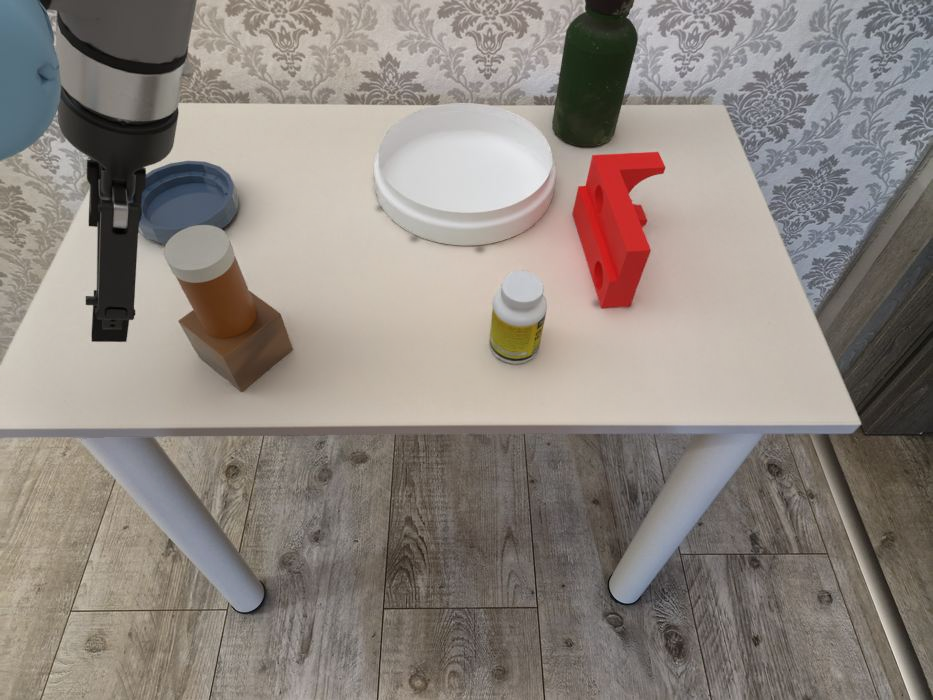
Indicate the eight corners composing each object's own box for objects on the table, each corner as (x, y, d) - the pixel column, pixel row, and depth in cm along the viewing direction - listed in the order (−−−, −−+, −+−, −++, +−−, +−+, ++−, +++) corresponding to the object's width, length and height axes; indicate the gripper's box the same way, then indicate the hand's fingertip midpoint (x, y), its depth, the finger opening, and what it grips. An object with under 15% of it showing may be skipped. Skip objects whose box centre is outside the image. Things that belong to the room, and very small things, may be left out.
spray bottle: (546, 141, 100) (570, -23, 80) (558, 106, 106) (584, -56, 86) (609, 154, 99) (651, -11, 78) (618, 117, 105) (658, -45, 84)
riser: (241, 392, 71) (223, 358, 66) (198, 356, 74) (177, 320, 68) (293, 349, 75) (280, 313, 69) (250, 316, 78) (234, 279, 72)
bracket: (585, 155, 82) (658, 151, 83) (572, 214, 90) (639, 210, 91) (618, 252, 72) (702, 246, 72) (601, 308, 80) (676, 303, 81)
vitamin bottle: (208, 347, 66) (170, 278, 58) (195, 306, 70) (158, 235, 61) (264, 327, 68) (236, 257, 59) (249, 289, 71) (221, 217, 62)
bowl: (146, 261, 83) (135, 242, 80) (128, 196, 90) (118, 176, 88) (251, 229, 87) (245, 211, 84) (226, 169, 94) (219, 150, 92)
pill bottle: (540, 366, 74) (552, 308, 65) (489, 365, 74) (494, 307, 65) (537, 326, 78) (549, 265, 69) (488, 324, 78) (494, 264, 69)
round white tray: (556, 251, 86) (562, 221, 81) (364, 242, 86) (359, 212, 82) (549, 133, 102) (554, 103, 97) (386, 126, 102) (383, 95, 97)
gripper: (196, 230, 40) (159, 391, 55) (166, 3, 51) (143, 189, 66) (56, 216, 36) (58, 395, 51) (58, -27, 47) (59, 178, 62)
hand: (106, 278), depth 58 cm, fingers open, 13 cm apart
